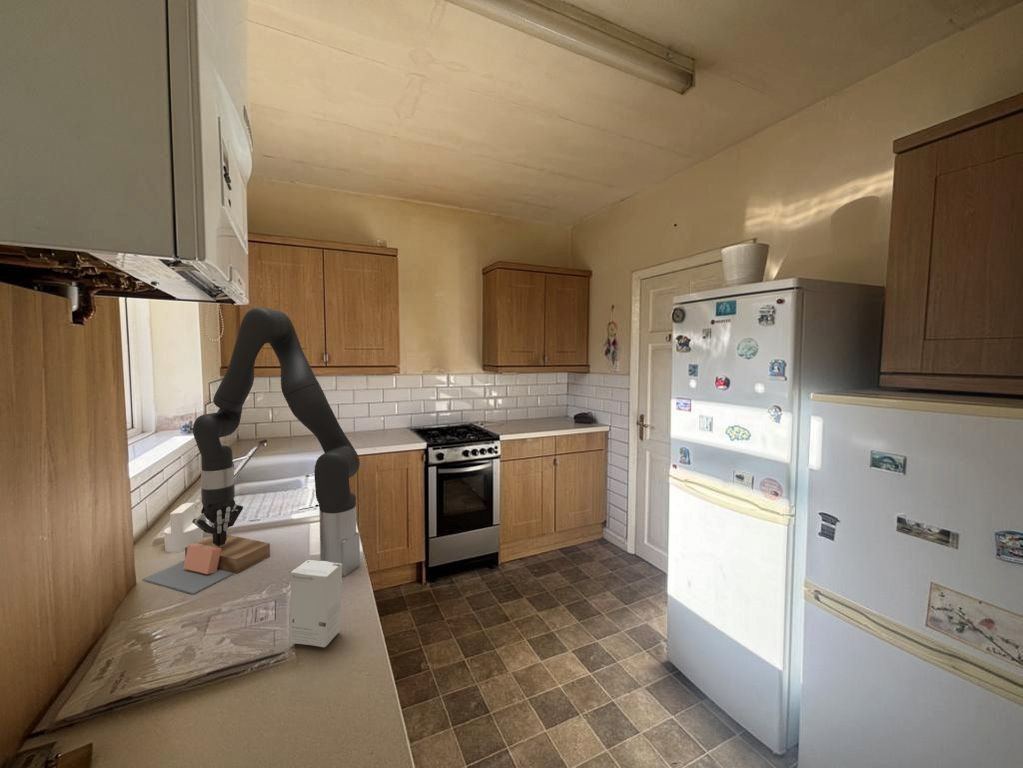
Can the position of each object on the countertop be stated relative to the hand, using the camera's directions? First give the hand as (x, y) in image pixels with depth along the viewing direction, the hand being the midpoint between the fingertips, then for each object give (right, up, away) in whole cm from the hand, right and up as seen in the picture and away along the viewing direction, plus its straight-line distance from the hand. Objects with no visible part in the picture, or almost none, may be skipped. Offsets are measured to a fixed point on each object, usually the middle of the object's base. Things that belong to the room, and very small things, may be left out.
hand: (220, 544), depth 114 cm
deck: (+1, -5, +2) cm, 6 cm away
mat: (-3, -6, -8) cm, 10 cm away
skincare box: (+42, -7, -30) cm, 52 cm away
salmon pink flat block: (-1, -2, -4) cm, 4 cm away
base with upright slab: (-18, -5, +10) cm, 21 cm away
